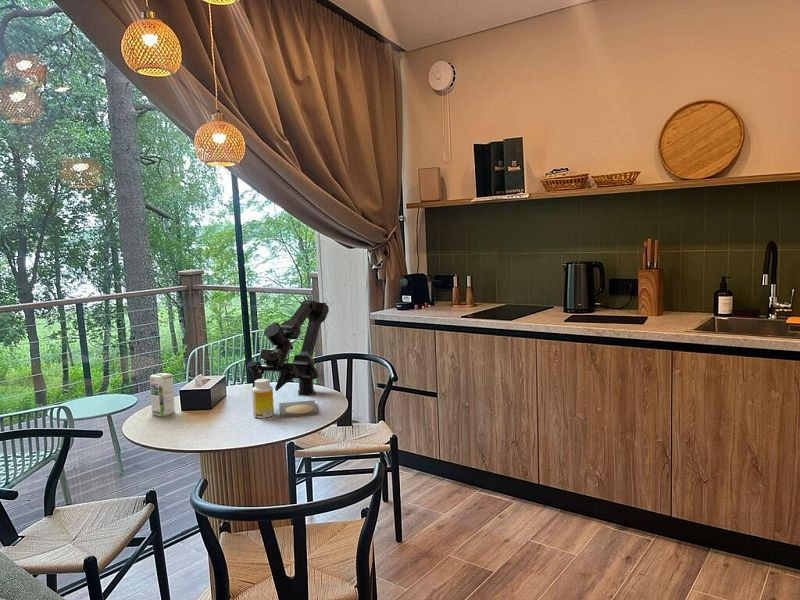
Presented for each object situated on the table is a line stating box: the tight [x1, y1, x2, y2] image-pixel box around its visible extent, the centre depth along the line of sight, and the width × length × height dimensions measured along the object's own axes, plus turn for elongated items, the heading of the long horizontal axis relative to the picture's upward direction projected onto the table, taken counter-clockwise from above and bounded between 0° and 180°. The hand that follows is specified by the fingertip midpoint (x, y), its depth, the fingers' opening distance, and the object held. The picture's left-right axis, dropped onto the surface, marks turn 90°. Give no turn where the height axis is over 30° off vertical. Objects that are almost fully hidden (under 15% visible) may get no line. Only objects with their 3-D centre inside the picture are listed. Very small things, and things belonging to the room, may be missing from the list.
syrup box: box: [149, 372, 176, 417], centre depth 210 cm, size 6×6×14 cm
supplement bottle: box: [251, 378, 275, 419], centre depth 205 cm, size 7×7×13 cm
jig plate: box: [278, 400, 318, 418], centre depth 210 cm, size 16×13×2 cm
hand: (264, 389), depth 206 cm, fingers open, 9 cm apart
